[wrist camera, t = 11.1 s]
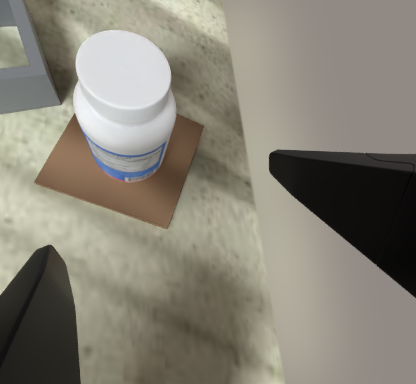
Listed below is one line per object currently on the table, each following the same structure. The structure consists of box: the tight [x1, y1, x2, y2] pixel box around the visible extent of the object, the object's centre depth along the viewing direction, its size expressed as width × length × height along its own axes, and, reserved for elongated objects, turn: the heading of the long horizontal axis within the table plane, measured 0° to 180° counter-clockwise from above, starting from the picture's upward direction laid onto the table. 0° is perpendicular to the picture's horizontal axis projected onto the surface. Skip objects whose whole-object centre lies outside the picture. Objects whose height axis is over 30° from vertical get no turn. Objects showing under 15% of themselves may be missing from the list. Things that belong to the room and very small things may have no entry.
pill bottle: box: [73, 30, 177, 183], centre depth 15 cm, size 6×5×10 cm
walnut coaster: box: [34, 114, 204, 229], centre depth 20 cm, size 10×10×1 cm
